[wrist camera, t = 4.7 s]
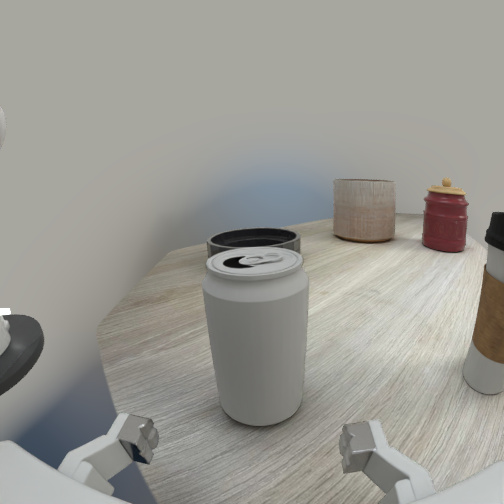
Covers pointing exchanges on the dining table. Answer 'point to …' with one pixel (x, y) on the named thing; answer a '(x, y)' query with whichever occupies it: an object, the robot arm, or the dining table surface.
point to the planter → (364, 209)
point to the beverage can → (257, 331)
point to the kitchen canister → (445, 218)
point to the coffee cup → (489, 318)
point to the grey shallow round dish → (254, 240)
